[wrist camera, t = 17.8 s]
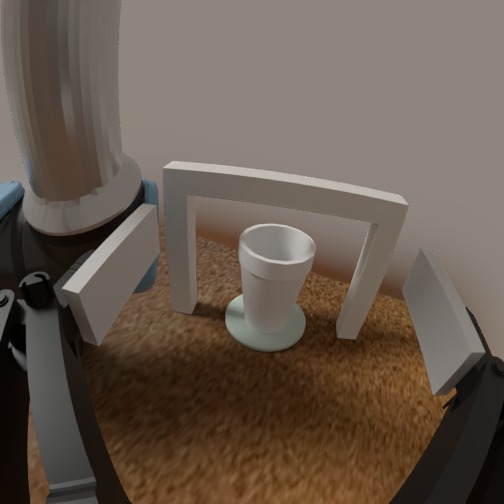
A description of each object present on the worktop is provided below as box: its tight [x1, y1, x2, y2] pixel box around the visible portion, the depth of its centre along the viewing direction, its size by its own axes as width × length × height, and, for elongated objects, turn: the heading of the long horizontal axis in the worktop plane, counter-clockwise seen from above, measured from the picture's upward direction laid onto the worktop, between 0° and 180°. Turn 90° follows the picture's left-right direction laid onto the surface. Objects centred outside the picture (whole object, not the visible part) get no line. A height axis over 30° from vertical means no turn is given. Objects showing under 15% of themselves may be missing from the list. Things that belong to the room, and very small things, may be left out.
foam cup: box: [238, 224, 316, 333], centre depth 39 cm, size 10×9×13 cm
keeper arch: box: [163, 161, 409, 352], centre depth 37 cm, size 28×12×22 cm, turn 81°
